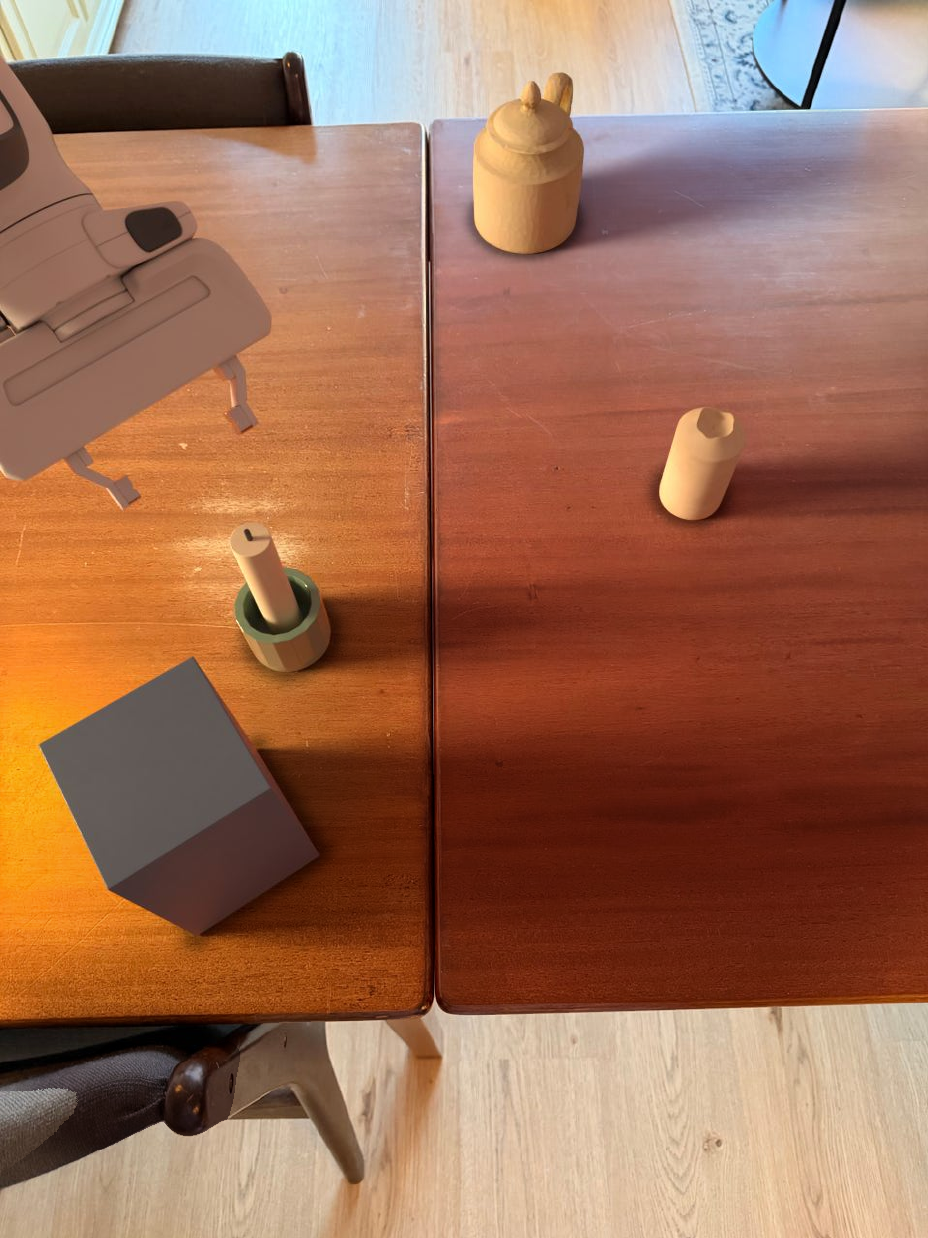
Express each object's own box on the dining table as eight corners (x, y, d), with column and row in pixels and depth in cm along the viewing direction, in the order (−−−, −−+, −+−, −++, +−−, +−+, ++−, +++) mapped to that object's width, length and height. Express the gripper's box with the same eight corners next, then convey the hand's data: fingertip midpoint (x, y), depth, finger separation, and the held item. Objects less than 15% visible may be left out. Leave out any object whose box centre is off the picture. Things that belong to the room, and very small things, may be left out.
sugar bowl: (468, 164, 101) (466, 24, 88) (566, 159, 101) (579, 18, 88) (476, 258, 94) (476, 121, 81) (582, 252, 94) (599, 114, 81)
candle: (647, 482, 81) (667, 407, 72) (701, 461, 82) (727, 385, 73) (677, 529, 78) (702, 458, 69) (733, 508, 79) (764, 435, 70)
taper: (289, 653, 73) (245, 556, 59) (265, 633, 74) (216, 533, 60) (313, 629, 74) (276, 528, 60) (289, 609, 75) (247, 506, 61)
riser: (196, 936, 64) (107, 890, 48) (137, 820, 67) (37, 744, 52) (319, 855, 66) (271, 788, 51) (255, 748, 70) (193, 655, 55)
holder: (274, 687, 72) (259, 658, 67) (236, 626, 75) (219, 594, 70) (345, 644, 74) (335, 613, 69) (305, 586, 76) (293, 553, 72)
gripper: (-99, 353, 51) (59, 555, 56) (207, 190, 57) (324, 387, 62) (-89, 364, 56) (54, 547, 62) (189, 215, 62) (297, 393, 67)
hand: (191, 466), depth 62 cm, fingers open, 8 cm apart
